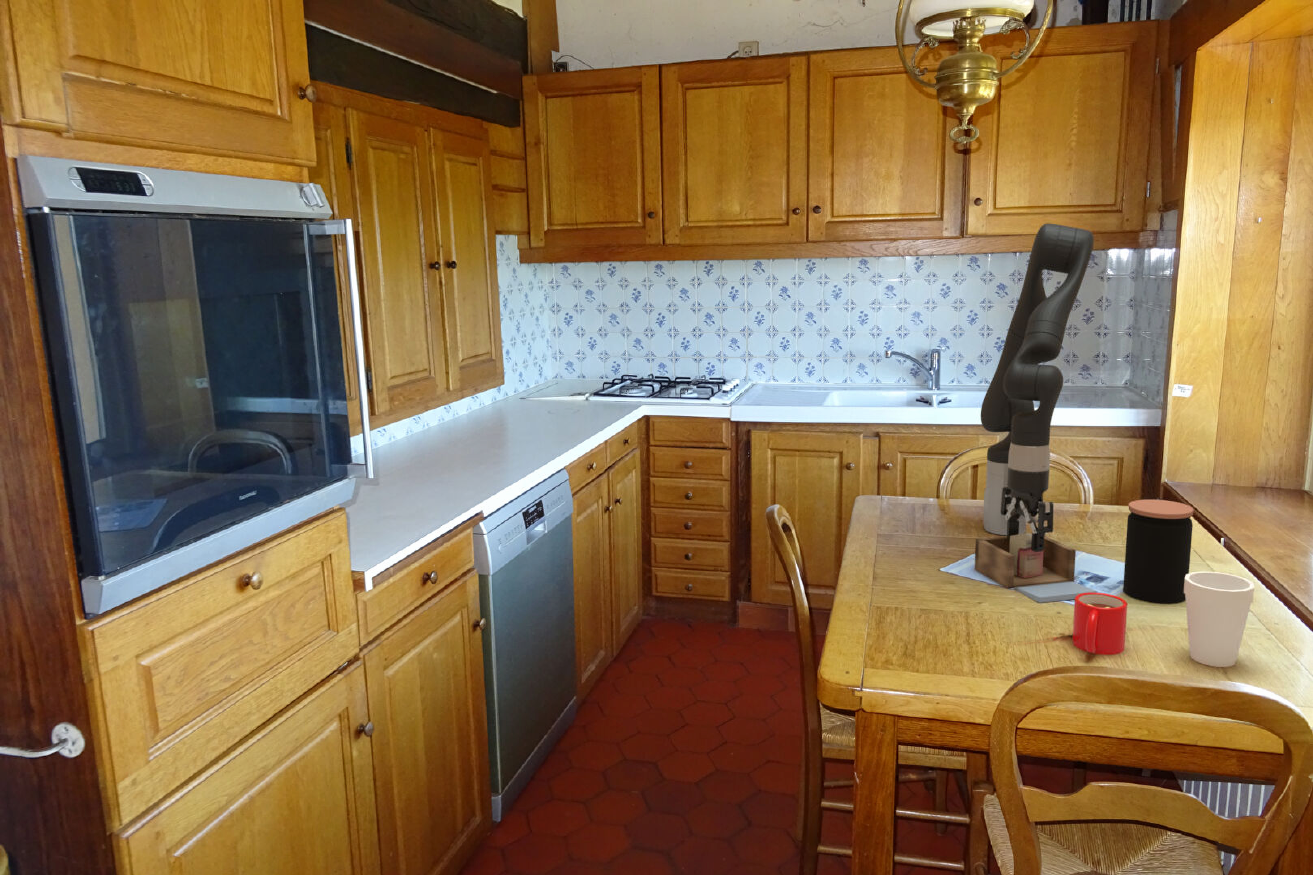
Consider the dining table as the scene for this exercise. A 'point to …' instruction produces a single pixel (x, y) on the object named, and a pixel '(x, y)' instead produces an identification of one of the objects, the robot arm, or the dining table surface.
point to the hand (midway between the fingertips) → (1024, 544)
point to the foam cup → (1216, 615)
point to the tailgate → (1053, 591)
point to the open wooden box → (1000, 563)
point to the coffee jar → (1157, 551)
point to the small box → (1025, 556)
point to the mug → (1099, 623)
